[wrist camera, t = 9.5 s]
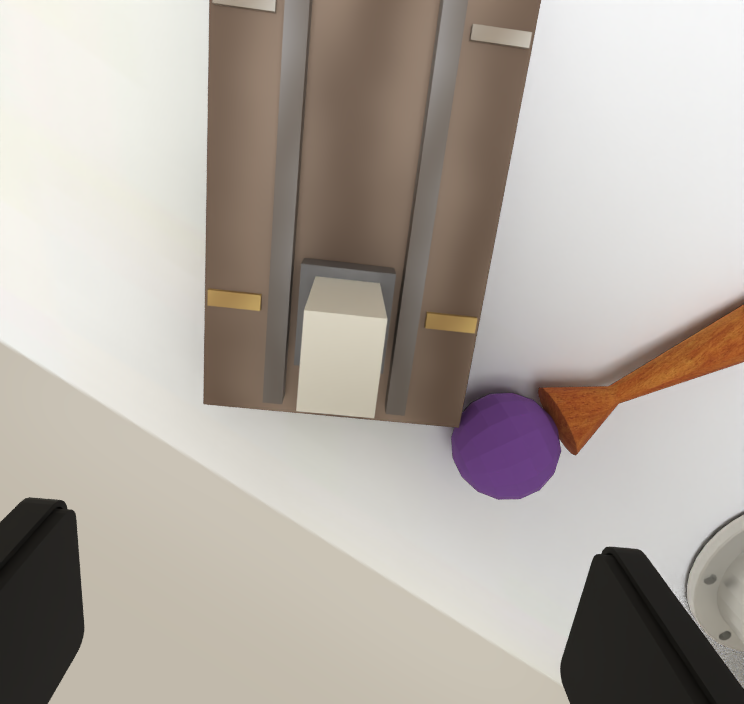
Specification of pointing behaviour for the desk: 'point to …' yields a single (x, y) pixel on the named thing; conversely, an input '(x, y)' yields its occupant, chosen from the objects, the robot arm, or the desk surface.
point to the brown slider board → (357, 182)
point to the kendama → (573, 414)
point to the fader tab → (342, 336)
